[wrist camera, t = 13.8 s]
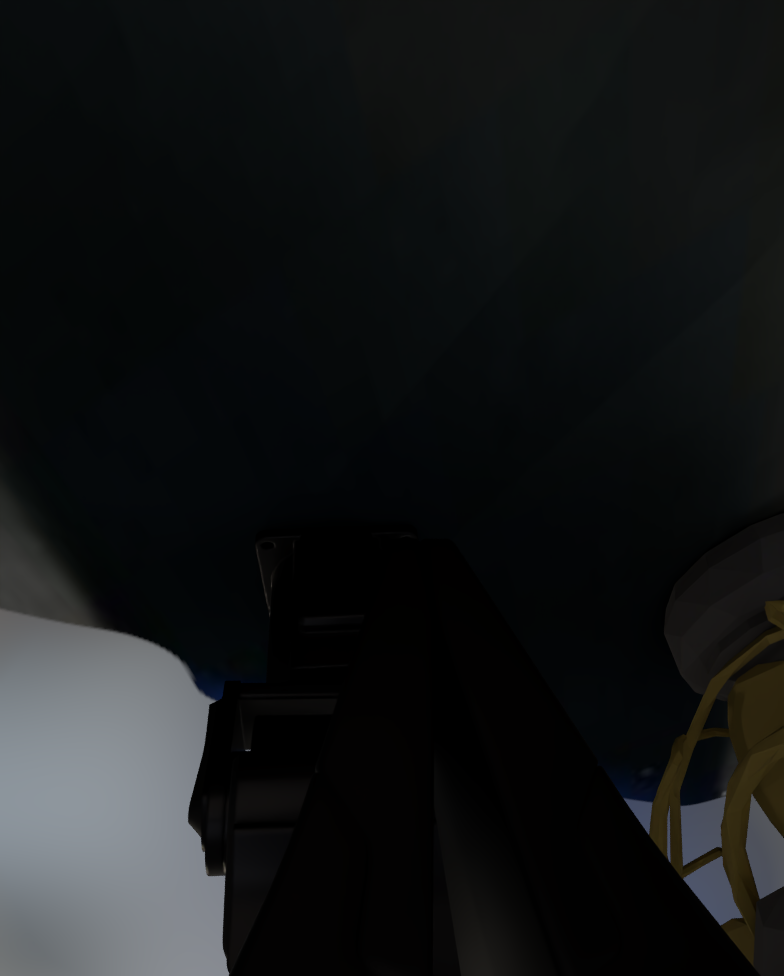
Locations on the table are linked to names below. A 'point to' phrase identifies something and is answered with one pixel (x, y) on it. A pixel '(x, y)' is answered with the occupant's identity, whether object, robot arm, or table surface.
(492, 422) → the table surface
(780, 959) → the electric fan
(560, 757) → the robot arm
